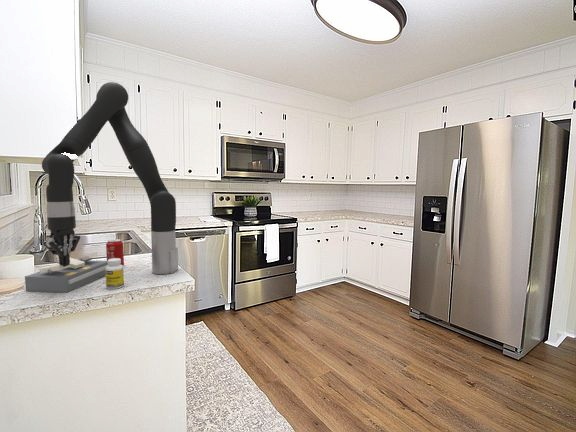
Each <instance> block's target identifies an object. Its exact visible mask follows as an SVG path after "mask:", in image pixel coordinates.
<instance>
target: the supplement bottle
mask: <svg viewBox="0 0 576 432" xmlns="http://www.w3.org/2000/svg"><path fill="white" fill-rule="evenodd" d="M120 263H121V259H119V258H114V259H109V260H108V265H109V266H107V267H106V275H105V288H106V289H107V290H116V289H121V288H123V287H124V285H125V280H124V279H125V278H124V277H125V276H124V272H125V271H124V265H121V264H120Z"/></svg>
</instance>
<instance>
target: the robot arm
mask: <svg viewBox="0 0 576 432" xmlns="http://www.w3.org/2000/svg"><path fill="white" fill-rule="evenodd" d="M128 103H129V93H128V90H127V89H126V88H125V87H124V85H122V84H120V83H119V82H115V81H108V82H106V83H103V84H102V86H100V88H99V89H98V91H97V93H96V97H95V101H94V102H93V103H92V104H91V106H90V108H89V109H88V110H87V111H86V113H84V115H83V116H81V118H80V119H79V120H78V121H77V122H75V124H74V125H73V126H72V127H73V128H72V127H71V129H69V131H68V132H67V133H66V135H65V136H64V137H63V138H62V139H61V141H60V142H59V143H58V144H57V145H55V147H53V149H51V150H50V151H49V153H47V154H46V156H45V157H44V158H43V159H42V162H41V169H42V171H43V172H45V173H46V174H47V175H48V184H47V185H46V187H45V190H46V191H45V194H46V220H47V221H46V222H47V229H48V231H50V234H49V239H48V240H47V241H44V242H43V245H44V247H46V248H47V250H48V251H50V252H49V253H51V254H52V255H53V256H58V259H59V264H60V265H63V266H68V265H69V264H70V258H71V253H72V252H75V251H76V248H77V246H78V244H79V242H80V239H81V236H80V235H77V234H76V232H75V230H74V229H75V228H76V227H77V223H76V208H75V203H74V191H73V185H74V179H75V166H74V165H75V164H74V162H75V160H71V159H70V158H69V157H68V156H66V155H63V154H61V153H64V152H66V153H70V154H76V155H77V156H78V157H77V158H79V157H80V156H82V155H83V154H85V152H86V151H87V150H88V148H89V147H90V146H91V145H92V143H93V142H94V141H95V139H97V136H98V135H99V134H100V132H101V130H102V129H103V128H104V126H105V125H106V123H107V122H108V123H109V124H110V127H111V128H112V130H113V132H114V134H115V136H116V139H117V140H118V143H119V145H120V147H121V149H122V151H123V153H124V155H125V158H126V159H127V161H128V164H129V165H130V167H131V168H132V170H133V172H134V173H135V175H136V176H137V178H138V179H139V180H140V182H141V183H142V186H143V188H144V190H145V193H146V195H147V198H148V200H149V204H150V232H151V234H150V236H151V238H150V239H151V267H152V270H151V272H152V274H155V275H167V274H173V273H175V272H176V271H178V270H179V249H178V248H179V247H178V246H177V245H176V244H177V243H176V242H177V241H176V239H177V238H176V223H177V204H176V198H175V197H174V195H173V194H172V193H170V191H169V190H168V189H167V187H166V185H165V183H164V182H163V180H162V178H161V175H160V172H159V168H158V165H157V161H156V159H155V157H154V154H153V152H152V150H151V148H150V146H149V144H148V141H147V140H146V139H145V137H143V135H142V134H141V133H140V132H139V131H138V130H137V128H136V127H135V126H134V124H133V123H132V122H131V120H130V118H129V115H128V113H127V110H126V108H125V107H126V106H127V105H128Z"/></svg>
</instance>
